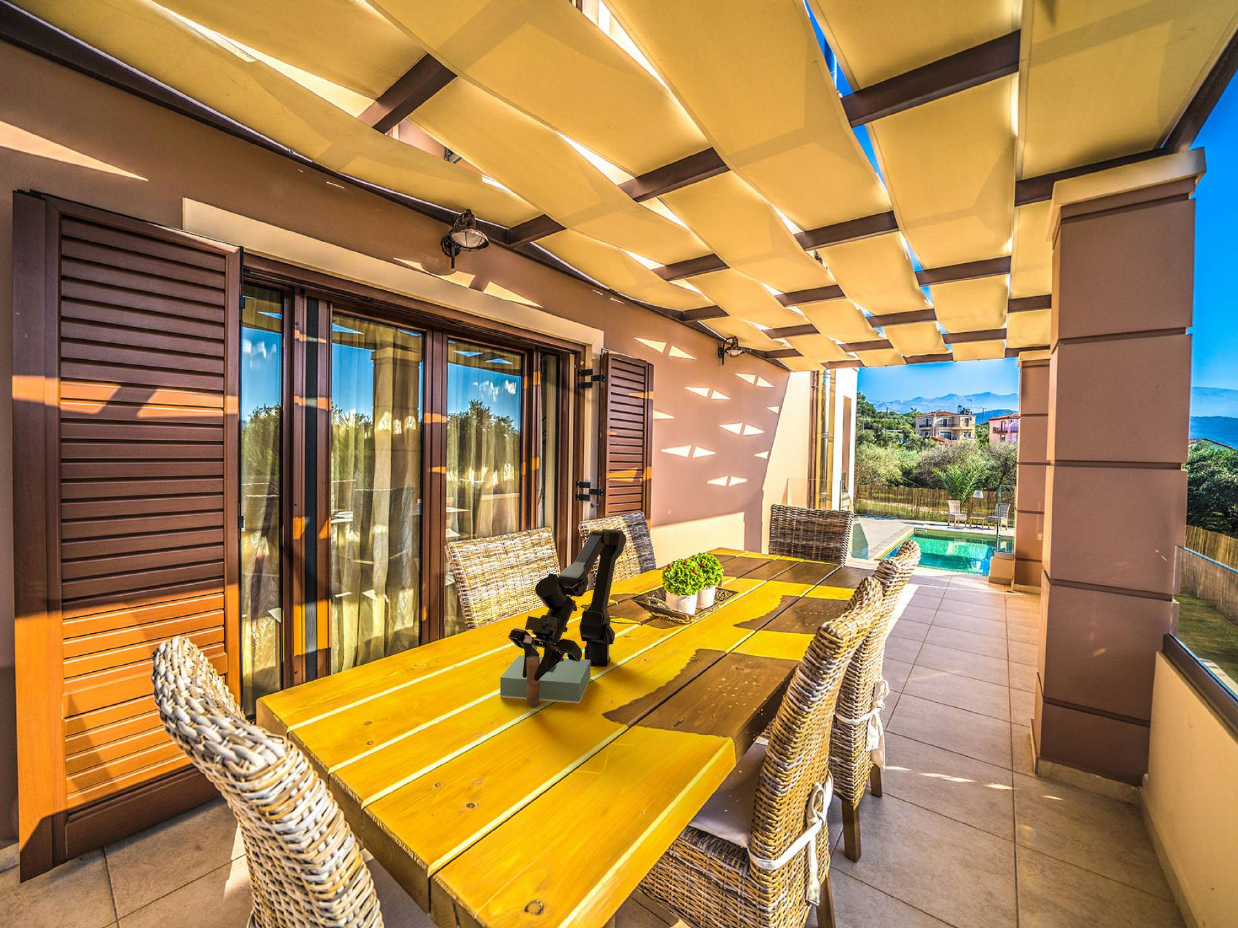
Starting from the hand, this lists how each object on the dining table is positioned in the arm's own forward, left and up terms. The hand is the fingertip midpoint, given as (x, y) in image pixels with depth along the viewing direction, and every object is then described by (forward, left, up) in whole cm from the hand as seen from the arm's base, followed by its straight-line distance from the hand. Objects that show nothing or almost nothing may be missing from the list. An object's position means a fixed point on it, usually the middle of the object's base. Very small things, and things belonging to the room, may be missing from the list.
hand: (529, 678), depth 117 cm
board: (0, -13, -8) cm, 16 cm away
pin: (0, -1, -7) cm, 7 cm away
